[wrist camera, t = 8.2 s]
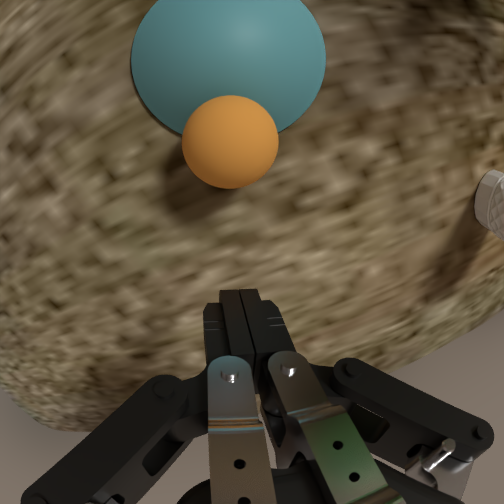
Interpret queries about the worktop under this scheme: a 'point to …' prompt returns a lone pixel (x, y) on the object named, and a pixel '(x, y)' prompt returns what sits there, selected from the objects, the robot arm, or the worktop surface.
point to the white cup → (491, 202)
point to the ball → (230, 141)
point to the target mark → (228, 57)
